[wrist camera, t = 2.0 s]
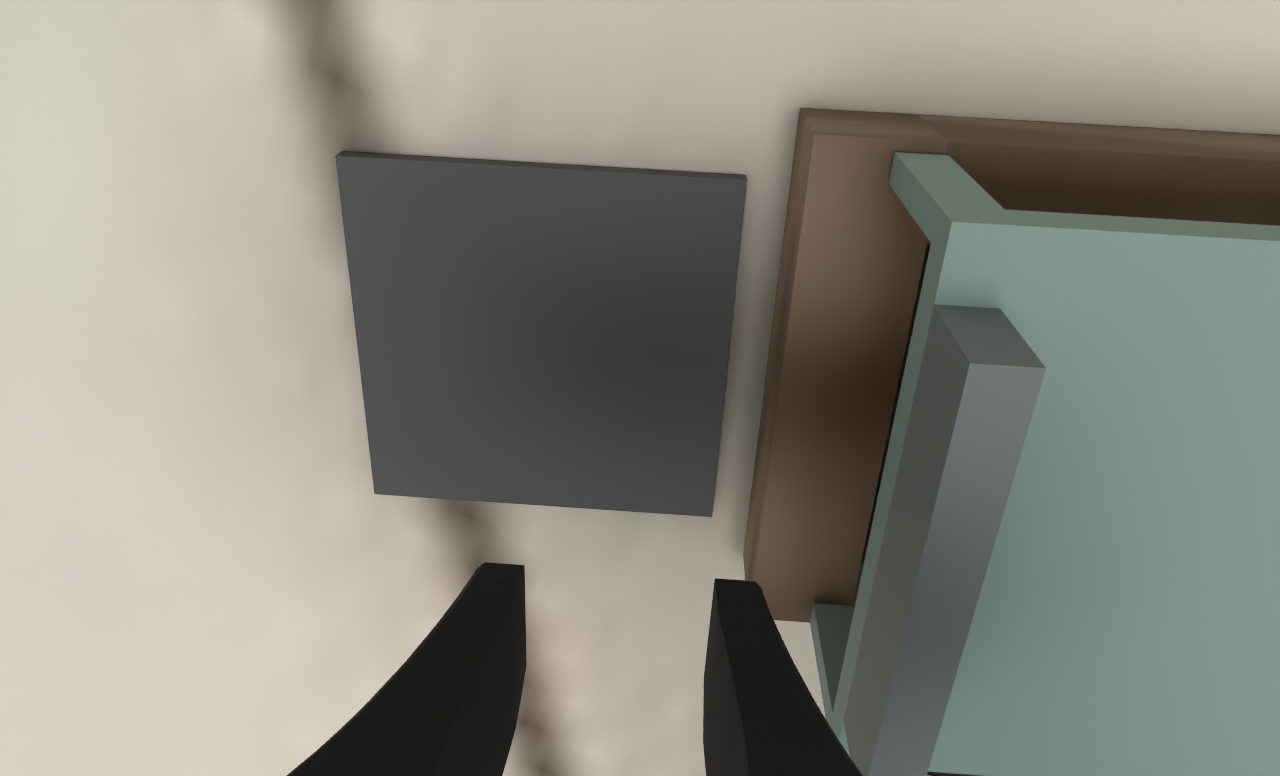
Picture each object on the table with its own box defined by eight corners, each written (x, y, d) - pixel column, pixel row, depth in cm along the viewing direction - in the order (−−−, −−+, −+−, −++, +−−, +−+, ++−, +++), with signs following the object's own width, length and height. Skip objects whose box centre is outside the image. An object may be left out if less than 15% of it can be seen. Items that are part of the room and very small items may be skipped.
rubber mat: (711, 508, 24) (711, 517, 24) (379, 485, 24) (374, 494, 24) (745, 175, 20) (746, 180, 19) (341, 151, 20) (335, 155, 20)
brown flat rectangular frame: (1558, 610, 24) (1644, 681, 22) (743, 554, 25) (748, 617, 22) (1867, 168, 18) (2025, 203, 16) (800, 108, 19) (814, 133, 17)
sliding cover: (1177, 647, 22) (1337, 892, 17) (809, 621, 22) (848, 854, 17) (1385, 180, 16) (1729, 316, 11) (894, 152, 17) (992, 270, 11)
